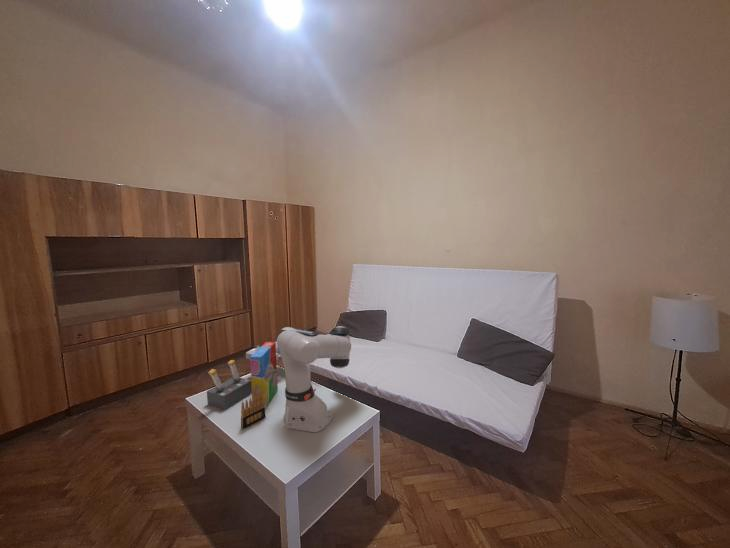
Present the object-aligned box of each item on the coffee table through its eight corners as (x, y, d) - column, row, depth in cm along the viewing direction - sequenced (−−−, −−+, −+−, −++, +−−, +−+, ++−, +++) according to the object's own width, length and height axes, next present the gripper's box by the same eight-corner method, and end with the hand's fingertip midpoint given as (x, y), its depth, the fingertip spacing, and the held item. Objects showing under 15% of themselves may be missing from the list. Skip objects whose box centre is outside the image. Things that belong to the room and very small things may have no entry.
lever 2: (241, 379, 150) (235, 360, 146) (237, 382, 148) (231, 363, 144) (237, 378, 152) (230, 359, 148) (233, 381, 150) (227, 362, 146)
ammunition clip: (243, 429, 122) (241, 403, 121) (241, 427, 123) (239, 401, 122) (265, 417, 130) (264, 392, 129) (263, 416, 132) (262, 391, 130)
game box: (263, 412, 134) (260, 357, 131) (252, 412, 134) (249, 357, 131) (277, 389, 155) (275, 341, 152) (268, 389, 155) (265, 341, 152)
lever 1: (225, 388, 141) (216, 369, 136) (221, 392, 140) (212, 373, 134) (220, 387, 143) (211, 368, 138) (217, 390, 141) (207, 372, 136)
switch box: (252, 392, 152) (251, 380, 151) (224, 410, 136) (223, 395, 136) (235, 388, 157) (235, 375, 156) (207, 404, 141) (206, 390, 141)
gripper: (283, 360, 168) (266, 370, 155) (257, 355, 176) (238, 364, 164) (282, 350, 167) (265, 359, 154) (256, 345, 175) (238, 353, 163)
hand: (251, 361), depth 159 cm, fingers closed
